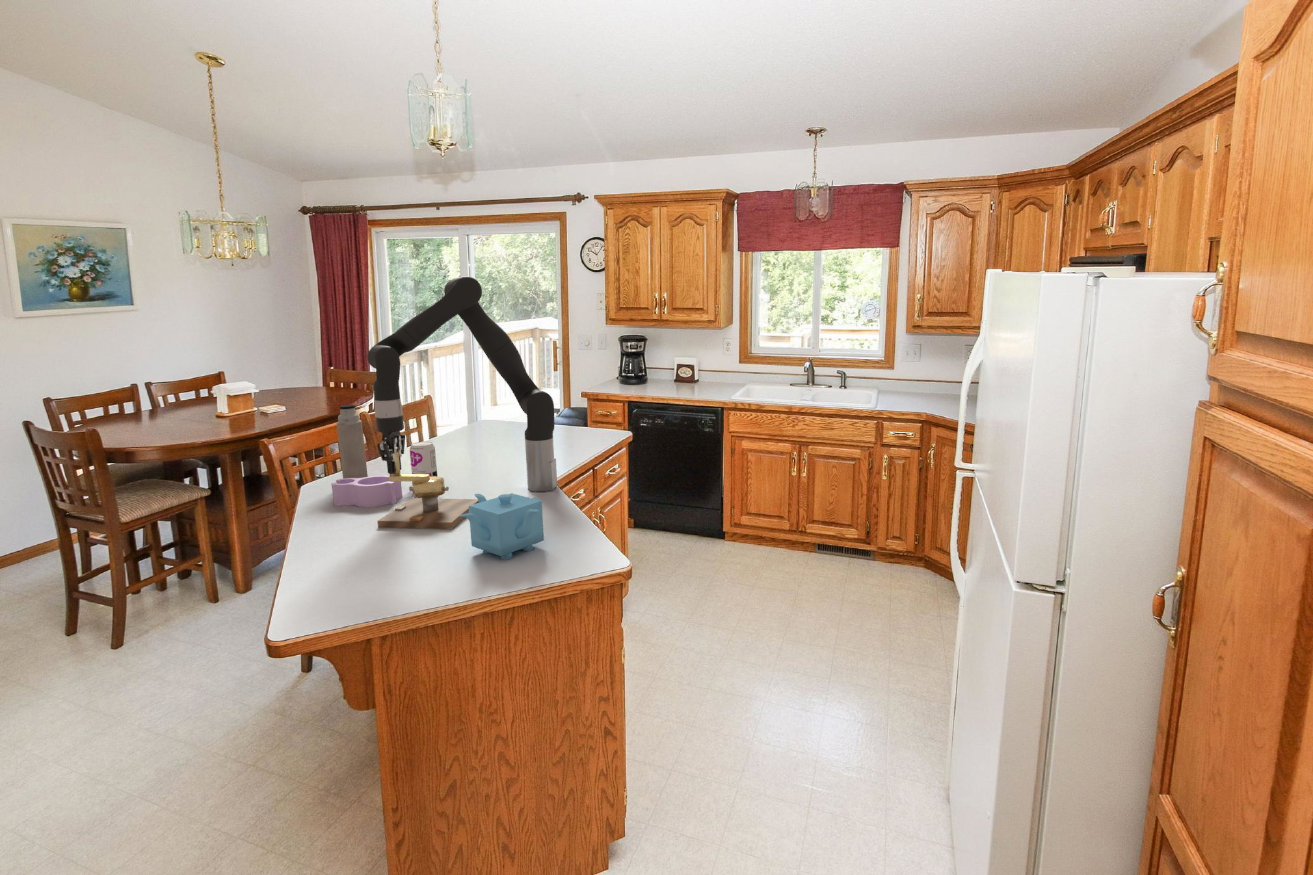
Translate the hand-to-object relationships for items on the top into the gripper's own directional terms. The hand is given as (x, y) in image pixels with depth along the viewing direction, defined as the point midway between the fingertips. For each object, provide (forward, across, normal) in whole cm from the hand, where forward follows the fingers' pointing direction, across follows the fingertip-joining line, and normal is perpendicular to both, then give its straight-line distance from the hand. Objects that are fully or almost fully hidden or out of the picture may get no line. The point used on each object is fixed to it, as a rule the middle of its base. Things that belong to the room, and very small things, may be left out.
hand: (394, 471), depth 211 cm
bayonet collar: (+7, 0, -7) cm, 10 cm away
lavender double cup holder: (+14, +14, +17) cm, 26 cm away
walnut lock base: (+14, 0, -10) cm, 17 cm away
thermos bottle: (+14, +33, +31) cm, 48 cm away
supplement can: (+14, +31, +5) cm, 35 cm away
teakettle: (+14, -28, -41) cm, 51 cm away
